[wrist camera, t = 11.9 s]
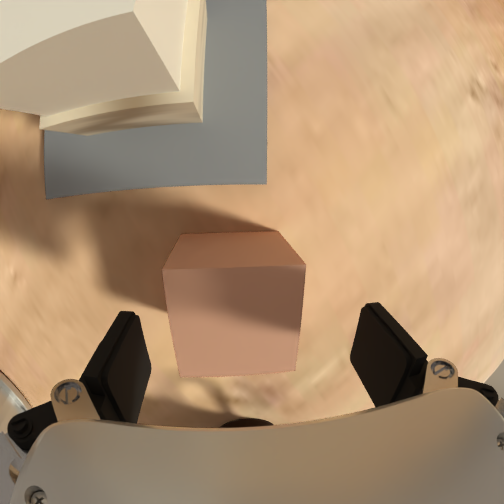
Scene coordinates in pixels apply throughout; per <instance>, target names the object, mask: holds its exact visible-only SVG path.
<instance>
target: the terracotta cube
mask: <svg viewBox="0 0 504 504" xmlns="http://www.w3.org/2000/svg"><path fill="white" fill-rule="evenodd" d="M305 271H306V264H305V263H304V261H303V260H302V259H301V258H300V257H299V255H298V254H297V253H296V252H295V251H294V249H293V248H292V247H291V246H290V245H289V243H288V242H287V241H286V240H285V239H284V237H283V236H282V235H281V234H280V233H279V231H260V232H223V233H194V234H181V235H180V237H179V239H178V240H177V242H176V244H175V246H174V248H173V250H172V251H171V253H170V255H169V257H168V259H167V261H166V263H165V264H164V266H163V268H162V276H163V283H164V291H165V298H166V305H167V311H168V317H169V323H170V329H171V335H172V340H173V345H174V350H175V355H176V360H177V365H178V370H179V374H180V377H225V376H245V375H259V374H270V373H280V372H289V371H295V369H296V361H297V353H298V345H299V336H300V327H301V317H302V307H303V296H304V284H305Z"/></svg>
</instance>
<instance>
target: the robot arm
mask: <svg viewBox="0 0 504 504" xmlns="http://www.w3.org/2000/svg"><path fill="white" fill-rule="evenodd" d="M427 356H428V355H427V354H426V353H425V352H424V351H423V350H422V348H421V347H420V346H419V345H418V344H417V343H416V342H415V341H414V340H413V338H412V337H411V336H410V335H409V334H408V333H407V332H406V331H405V330H404V329H403V327H402V326H401V325H400V324H399V323H398V322H397V321H396V320H395V319H394V318H393V317H392V316H391V315H390V313H389V312H388V311H387V310H386V309H385V308H384V307H383V306H382V305H381V304H380V303H379V302H376V303H367V304H366V305H365V306H364V307H363V308H362V309H361V313H360V317H359V322H358V326H357V330H356V334H355V338H354V342H353V346H352V350H351V354H350V361H351V363H352V365H353V367H354V369H355V370H356V372H357V374H358V376H359V378H360V379H361V381H362V383H363V385H364V387H365V388H366V390H367V392H368V394H369V396H370V398H371V399H372V401H373V403H374V405H375V408H371V409H367V410H363V411H359V412H355V413H350V414H345V415H341V416H336V417H330V418H325V419H319V420H313V421H306V422H299V423H291V424H282V425H272V426H260V427H242V428H186V427H170V426H156V425H145V424H137V420H138V416H139V413H140V409H141V405H142V402H143V398H144V394H145V391H146V387H147V384H148V381H149V377H150V374H151V363H150V359H149V355H148V351H147V347H146V344H145V339H144V335H143V331H142V327H141V322H140V318H139V316H138V315H135V313H134V312H131V311H120V312H119V314H118V316H117V317H116V319H115V320H114V322H113V324H112V325H111V327H110V329H109V330H108V332H107V334H106V335H105V337H104V339H103V340H102V341H101V342H100V344H99V346H98V347H97V349H96V351H95V352H94V354H93V356H92V358H91V359H90V361H89V363H88V365H87V367H86V368H85V370H84V372H83V374H82V376H81V378H80V379H79V380H75V379H66V380H63V381H61V382H59V383H57V384H56V385H55V386H54V387H53V389H52V391H51V401H49V402H47V403H44V404H42V405H39V406H37V407H34V408H31V406H30V405H29V403H28V402H27V400H26V399H25V398H24V396H23V395H22V394H21V393H20V392H19V390H18V389H17V388H16V387H15V386H14V385H13V384H12V383H11V382H10V381H9V380H8V379H7V378H6V377H5V376H4V375H3V374H2V373H1V372H0V504H504V399H503V398H501V399H500V400H498V394H497V392H496V391H495V390H494V388H493V387H492V386H489V385H487V384H483V383H479V382H476V381H472V380H468V379H464V378H461V377H458V371H457V368H456V366H455V365H454V364H453V363H452V362H450V361H448V360H446V359H442V358H435V359H432V360H430V361H429V362H428V361H427V360H426V358H427Z"/></svg>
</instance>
